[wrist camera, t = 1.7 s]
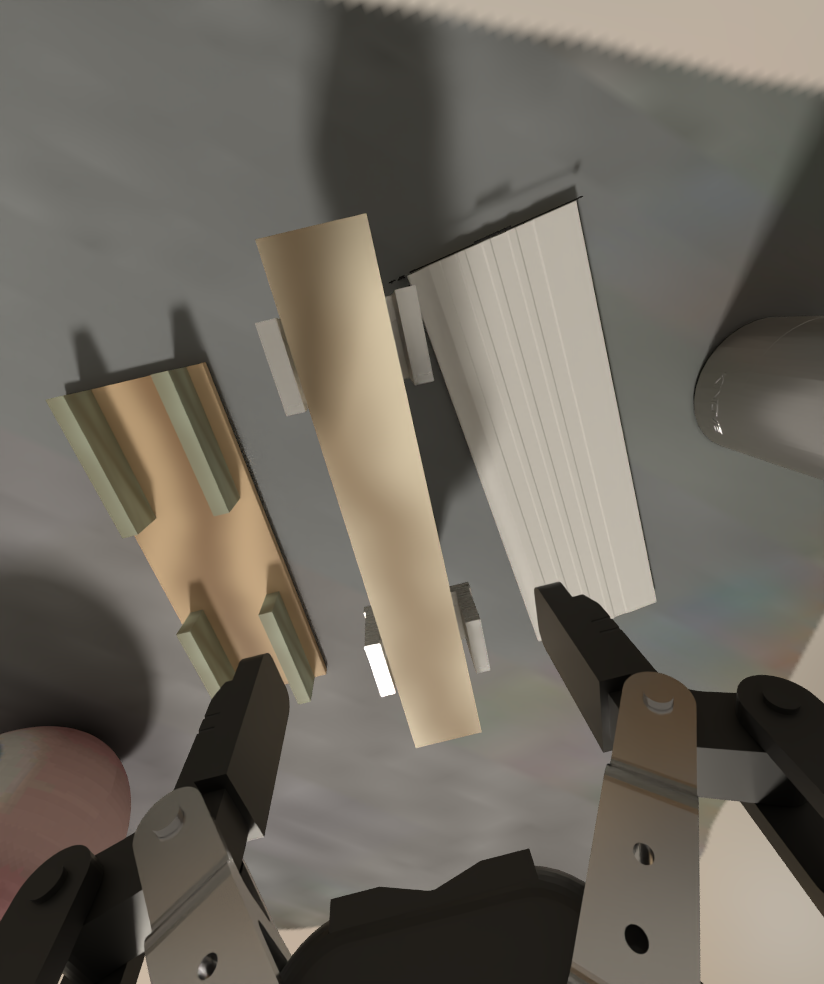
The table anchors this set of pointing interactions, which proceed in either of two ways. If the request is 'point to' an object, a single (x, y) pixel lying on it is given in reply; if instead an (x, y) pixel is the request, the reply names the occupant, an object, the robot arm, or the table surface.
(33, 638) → the table surface
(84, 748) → the eyeball
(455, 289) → the baseboard
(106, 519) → the table surface
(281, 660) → the rack
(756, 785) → the robot arm
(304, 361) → the rail
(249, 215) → the table surface
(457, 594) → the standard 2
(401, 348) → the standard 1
